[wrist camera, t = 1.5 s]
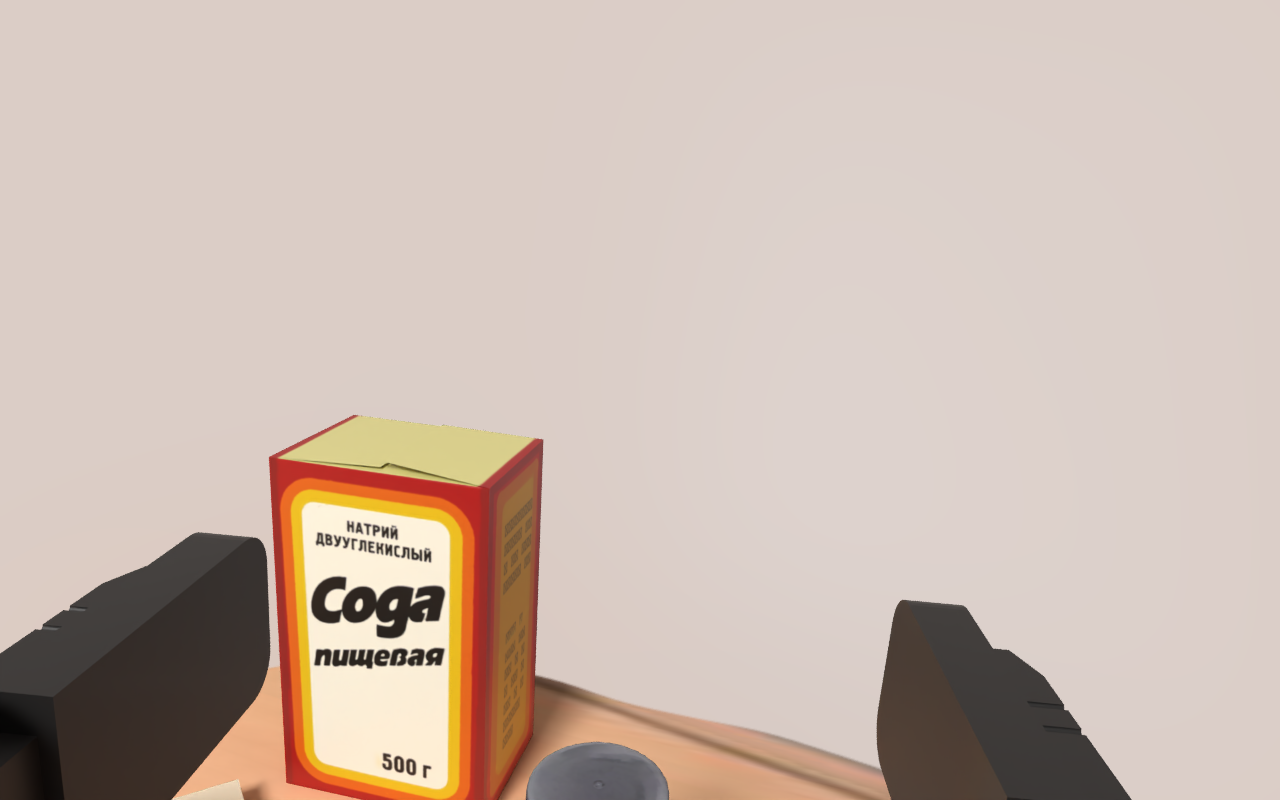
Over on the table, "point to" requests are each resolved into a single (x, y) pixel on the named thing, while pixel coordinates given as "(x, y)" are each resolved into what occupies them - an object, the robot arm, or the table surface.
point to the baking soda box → (406, 607)
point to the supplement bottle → (597, 775)
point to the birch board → (217, 793)
